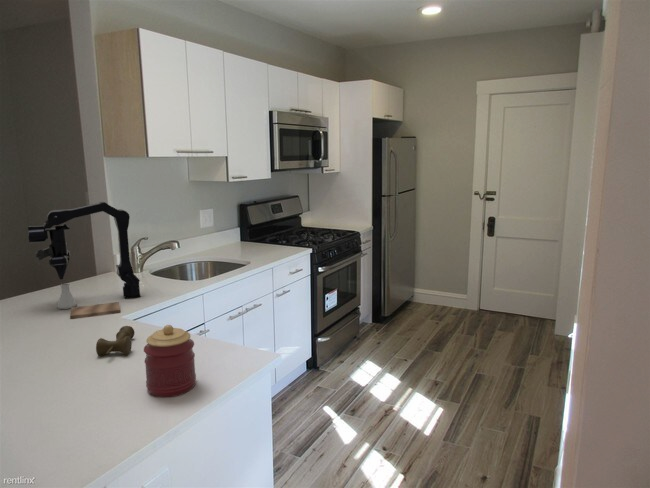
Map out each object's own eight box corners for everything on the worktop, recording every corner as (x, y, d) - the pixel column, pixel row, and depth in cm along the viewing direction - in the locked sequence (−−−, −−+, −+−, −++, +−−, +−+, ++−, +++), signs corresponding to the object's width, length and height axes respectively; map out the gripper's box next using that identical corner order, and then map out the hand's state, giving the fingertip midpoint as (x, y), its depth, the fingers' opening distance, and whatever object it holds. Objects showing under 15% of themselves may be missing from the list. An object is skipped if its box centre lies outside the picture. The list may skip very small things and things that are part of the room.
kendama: (142, 339, 163) (124, 362, 143) (114, 341, 162) (91, 364, 142) (141, 322, 162) (122, 343, 142) (112, 324, 161) (89, 345, 141)
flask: (68, 310, 193) (66, 286, 191) (53, 309, 194) (50, 286, 193) (80, 305, 200) (78, 282, 198) (66, 304, 201) (63, 281, 200)
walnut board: (119, 304, 200) (118, 301, 200) (120, 312, 190) (120, 309, 190) (71, 310, 193) (71, 307, 192) (70, 319, 182) (70, 316, 182)
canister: (159, 374, 134) (155, 316, 131) (203, 376, 133) (200, 317, 130) (137, 397, 122) (132, 333, 119) (185, 399, 120) (181, 334, 117)
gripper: (38, 238, 199) (43, 274, 202) (32, 245, 182) (37, 284, 185) (68, 236, 203) (72, 271, 206) (64, 243, 187) (69, 281, 189)
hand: (62, 276), depth 197 cm, fingers open, 9 cm apart
